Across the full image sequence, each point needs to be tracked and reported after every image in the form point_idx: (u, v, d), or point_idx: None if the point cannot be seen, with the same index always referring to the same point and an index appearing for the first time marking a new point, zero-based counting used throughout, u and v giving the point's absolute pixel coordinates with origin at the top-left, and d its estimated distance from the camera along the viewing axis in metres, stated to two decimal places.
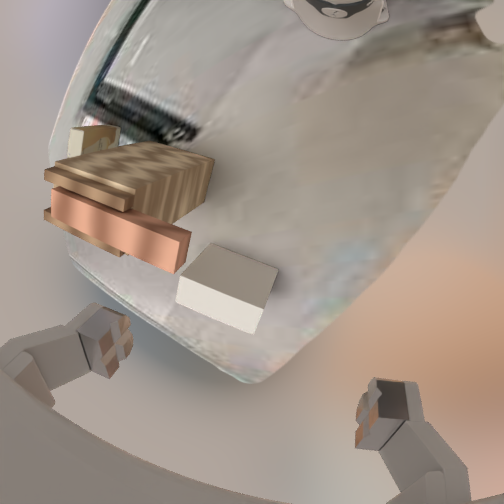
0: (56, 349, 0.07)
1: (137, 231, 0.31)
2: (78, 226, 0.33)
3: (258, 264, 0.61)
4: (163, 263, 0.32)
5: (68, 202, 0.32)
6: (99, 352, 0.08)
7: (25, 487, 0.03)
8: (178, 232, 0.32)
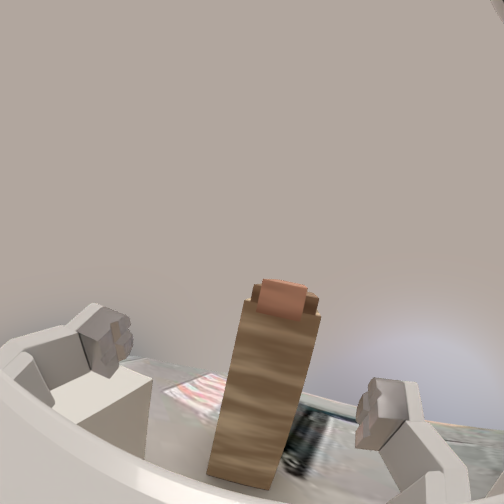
0: (56, 349, 0.07)
1: (299, 285, 0.31)
2: None
3: None
4: (272, 280, 0.28)
5: None
6: (99, 352, 0.08)
7: (25, 487, 0.03)
8: None
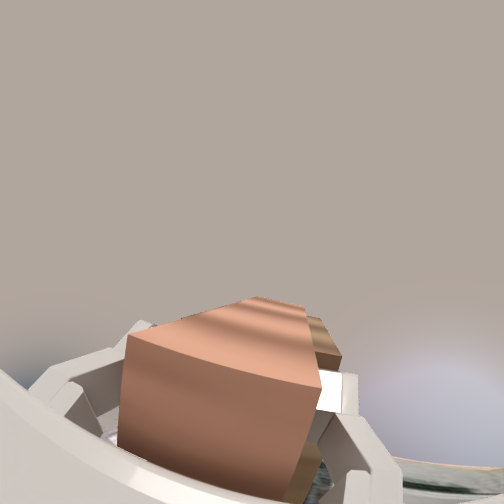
0: (106, 375, 0.07)
1: (291, 334, 0.10)
2: (253, 301, 0.20)
3: None
4: (184, 335, 0.07)
5: (293, 308, 0.21)
6: None
7: (25, 487, 0.03)
8: None
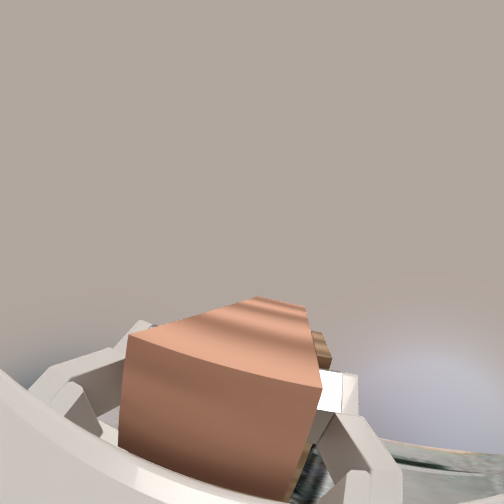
0: (106, 375, 0.07)
1: (291, 334, 0.10)
2: (253, 301, 0.20)
3: None
4: (185, 335, 0.07)
5: (294, 308, 0.21)
6: None
7: (25, 487, 0.03)
8: None
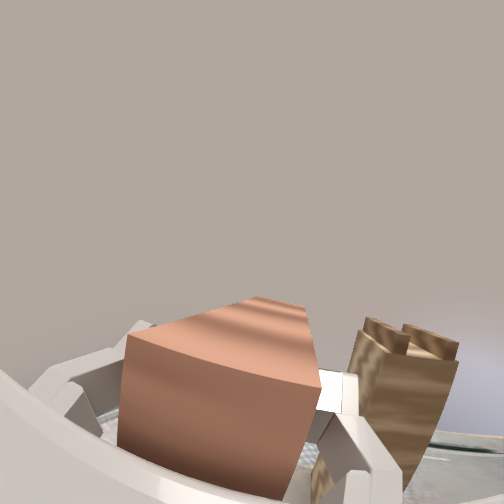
0: (106, 375, 0.07)
1: (291, 334, 0.10)
2: (253, 301, 0.20)
3: None
4: (184, 334, 0.07)
5: (294, 308, 0.21)
6: None
7: (25, 487, 0.03)
8: None
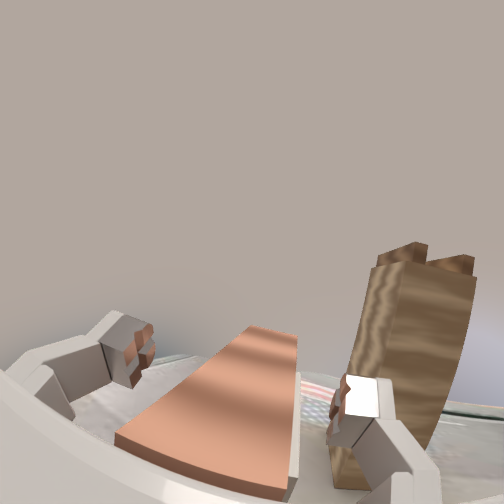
0: (77, 361, 0.07)
1: (274, 399, 0.10)
2: (244, 338, 0.19)
3: None
4: (167, 422, 0.07)
5: (285, 341, 0.21)
6: (123, 363, 0.08)
7: (25, 487, 0.03)
8: None
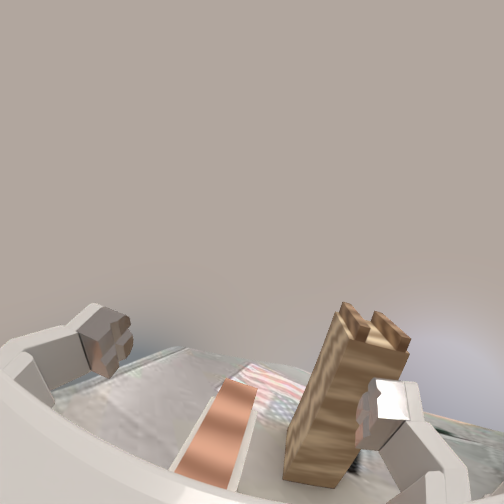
0: (56, 349, 0.07)
1: (224, 464, 0.19)
2: (218, 401, 0.29)
3: None
4: None
5: (246, 400, 0.30)
6: (99, 352, 0.08)
7: (25, 487, 0.03)
8: None
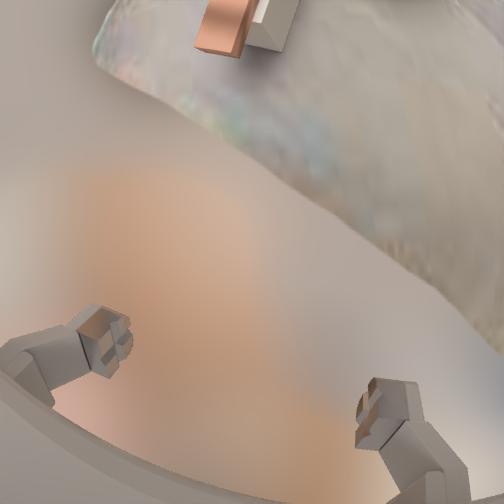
0: (56, 349, 0.07)
1: (238, 7, 0.22)
2: None
3: (288, 26, 0.34)
4: (204, 35, 0.24)
5: None
6: (99, 352, 0.08)
7: (25, 487, 0.03)
8: (239, 47, 0.25)
